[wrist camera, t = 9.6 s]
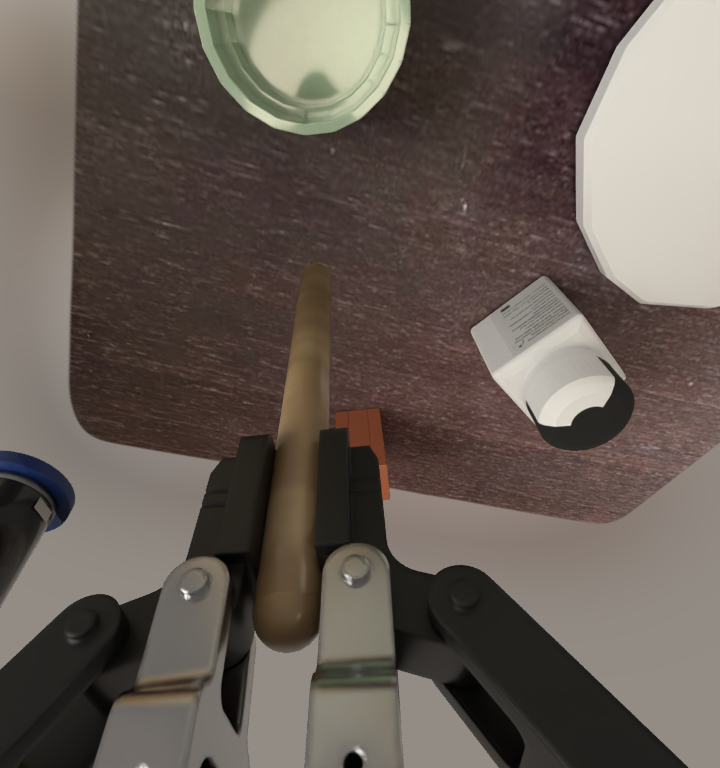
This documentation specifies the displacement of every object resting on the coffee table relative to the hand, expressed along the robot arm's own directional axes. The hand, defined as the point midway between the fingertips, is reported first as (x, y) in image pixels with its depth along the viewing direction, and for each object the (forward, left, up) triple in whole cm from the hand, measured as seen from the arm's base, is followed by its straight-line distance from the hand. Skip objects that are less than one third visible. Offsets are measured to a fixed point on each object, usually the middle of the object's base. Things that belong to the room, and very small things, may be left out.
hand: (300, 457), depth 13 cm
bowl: (+1, +10, -29) cm, 30 cm away
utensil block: (+1, -23, -29) cm, 37 cm away
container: (+17, -14, -29) cm, 36 cm away
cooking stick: (0, 0, -12) cm, 12 cm away
